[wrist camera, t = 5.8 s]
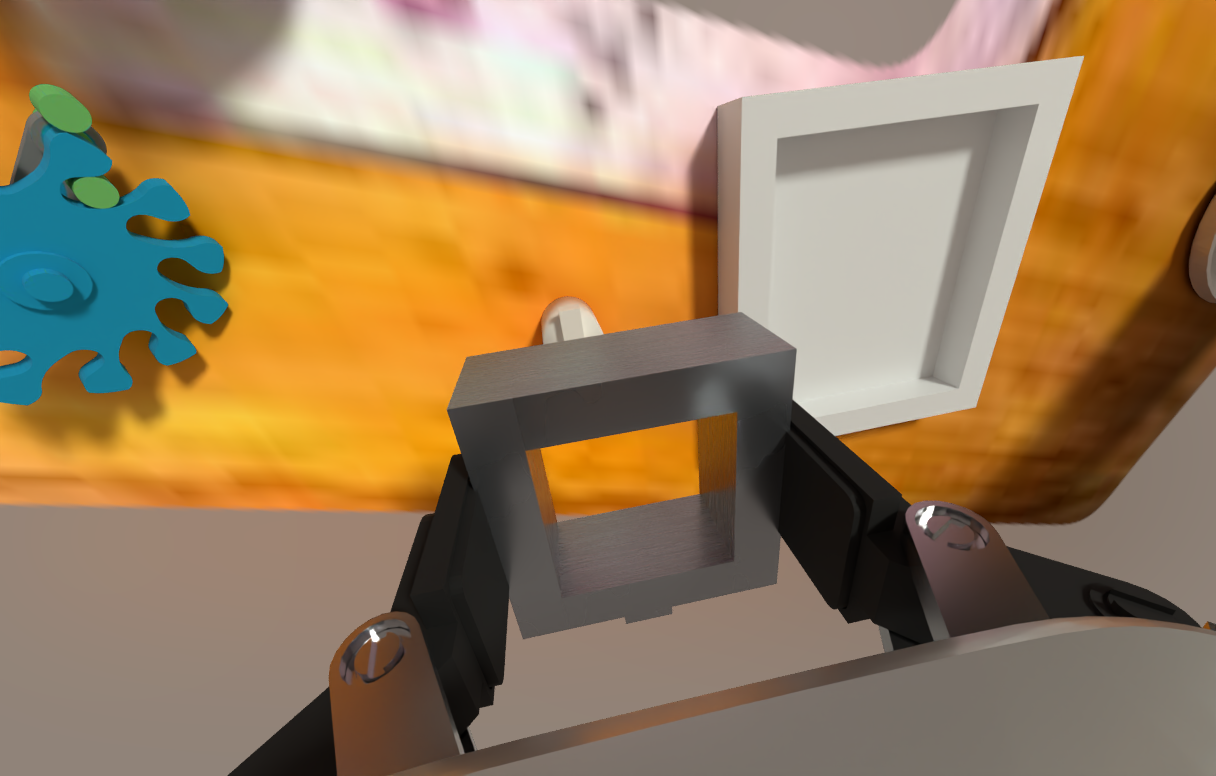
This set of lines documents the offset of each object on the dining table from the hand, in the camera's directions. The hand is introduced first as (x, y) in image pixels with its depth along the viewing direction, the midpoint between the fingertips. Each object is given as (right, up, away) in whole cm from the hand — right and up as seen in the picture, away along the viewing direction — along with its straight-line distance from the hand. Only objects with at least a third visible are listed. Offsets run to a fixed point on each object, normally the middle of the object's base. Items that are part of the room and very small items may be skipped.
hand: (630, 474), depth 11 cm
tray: (+13, +9, +13) cm, 20 cm away
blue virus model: (-21, +8, +7) cm, 23 cm away
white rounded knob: (-3, +6, +12) cm, 13 cm away
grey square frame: (0, +1, +1) cm, 1 cm away
